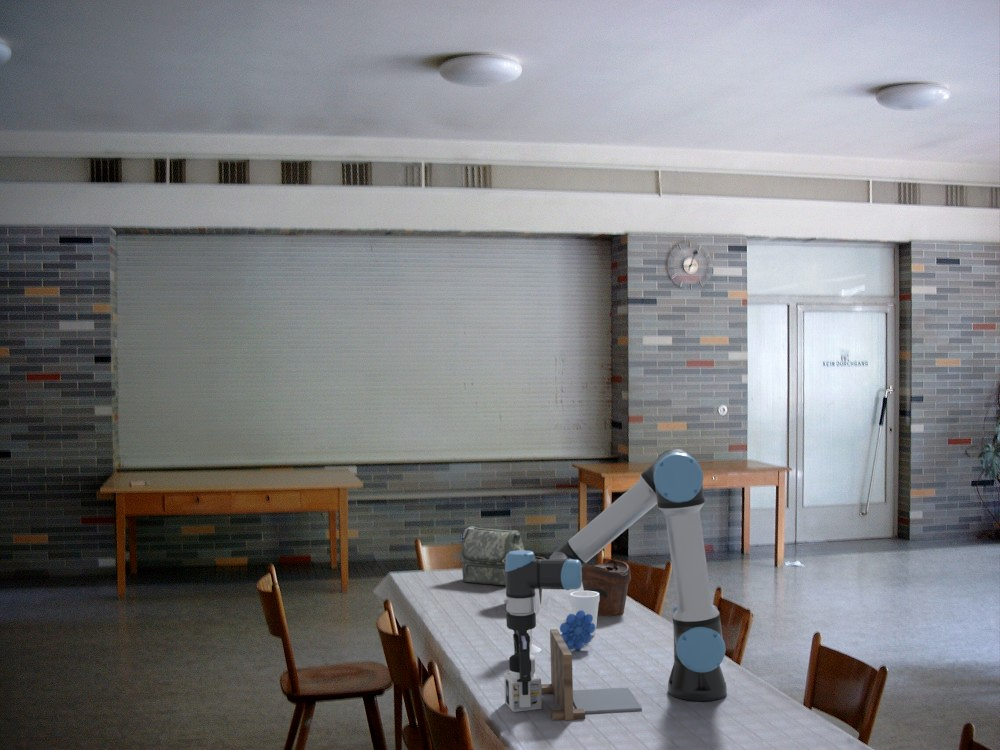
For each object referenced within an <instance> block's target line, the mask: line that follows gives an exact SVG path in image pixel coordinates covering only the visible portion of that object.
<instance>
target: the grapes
mask: <svg viewBox="0 0 1000 750" xmlns="http://www.w3.org/2000/svg"><path fill="white" fill-rule="evenodd" d="M592 620H593V617H592V615H591V614H587V615H585V612H584V611H578V612H577V613H576V616H575V615H574V614H573V613H569V614H568V615H566V618H565V621H566V622H563V623H562V624H560V626H559V632H560V634H561V636H562V638H563V640H564V641H565V643H566V645H567V647H568V648H569V650H570V651H571V650H572V649H573V648H574V649H575V651H580V650H581V649H583V647H584V644H589V643H591V641H592V639H593V638H592V637H593V636H591V634H590V633H593V632H594V631H595V628H596V629H597V626H596V627H595V624H594V623H591V622H592Z"/></svg>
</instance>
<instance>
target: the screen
mask: <svg viewBox="0 0 1000 750" xmlns="http://www.w3.org/2000/svg"><path fill="white" fill-rule="evenodd" d="M561 634H562V633H561V632H560V630H558V628H553V629H552V628H551V629H549V638H550V641H549V643H550V646H549V647H550V677H551V678H550V679H551V680H550V681H551V682H550V683H545V684H544V683H543V684H542V683H541V695H542V694H553V695H554V699H555V700H556V702H557V704H558V706H559V709H550V717H551V719H552V721H564V720H565V721H574V720H583V719H586V713H585V711H584V709H583V708H578V709H576V708H574V703H573V690H574V687H573V683H574V682H573V681H574V680H573V678H574V677H573V654H572V652H571V650H569V648H568V647H567V645H566V643H565V641H564V640H563V638H562V636H561Z"/></svg>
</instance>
